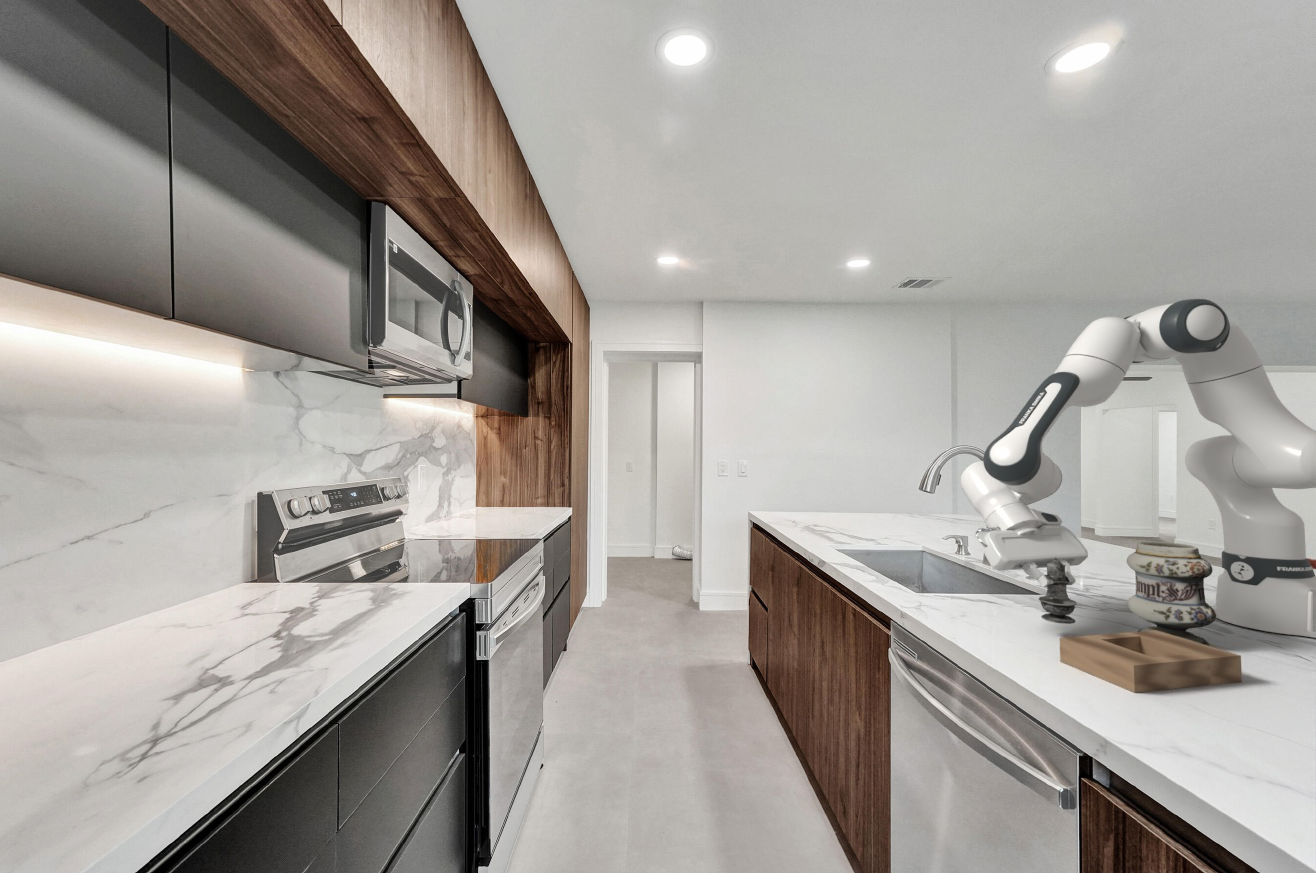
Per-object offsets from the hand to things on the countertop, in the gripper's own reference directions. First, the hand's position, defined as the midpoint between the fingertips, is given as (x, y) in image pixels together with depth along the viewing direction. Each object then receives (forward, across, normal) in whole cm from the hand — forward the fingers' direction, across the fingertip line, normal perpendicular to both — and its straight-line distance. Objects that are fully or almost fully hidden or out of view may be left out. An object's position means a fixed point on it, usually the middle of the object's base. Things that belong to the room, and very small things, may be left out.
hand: (1059, 584), depth 102 cm
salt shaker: (+4, 0, +5) cm, 7 cm away
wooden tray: (+18, 0, -4) cm, 18 cm away
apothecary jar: (+11, +20, +5) cm, 23 cm away
